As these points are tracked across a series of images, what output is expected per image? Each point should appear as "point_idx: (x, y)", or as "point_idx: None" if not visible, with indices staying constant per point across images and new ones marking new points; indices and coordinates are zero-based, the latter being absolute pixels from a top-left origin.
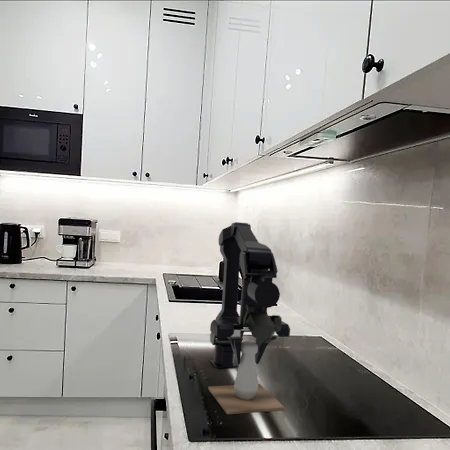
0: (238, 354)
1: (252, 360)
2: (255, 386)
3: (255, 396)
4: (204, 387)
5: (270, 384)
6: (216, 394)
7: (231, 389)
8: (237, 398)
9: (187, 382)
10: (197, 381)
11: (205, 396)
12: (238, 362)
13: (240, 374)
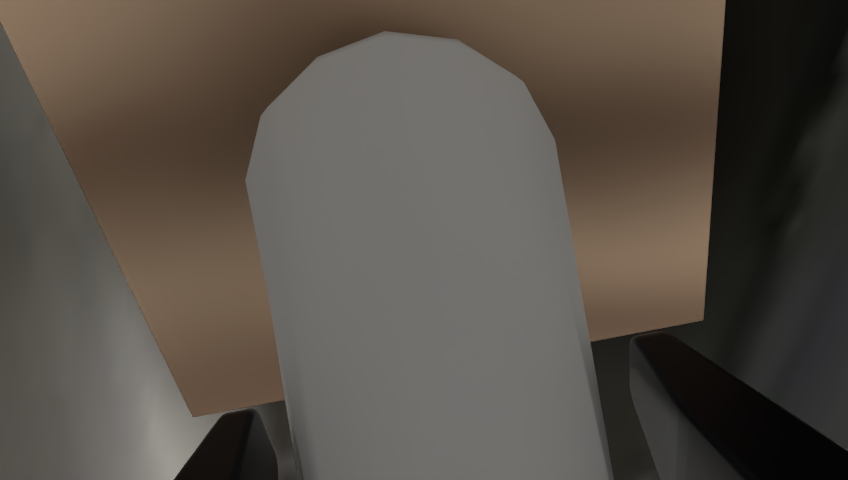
0: (814, 470)
1: (392, 387)
2: (300, 104)
3: None
4: (713, 332)
5: (80, 445)
6: (694, 160)
7: None
8: None
9: (815, 401)
10: None
11: (780, 158)
12: (682, 349)
13: (557, 216)
